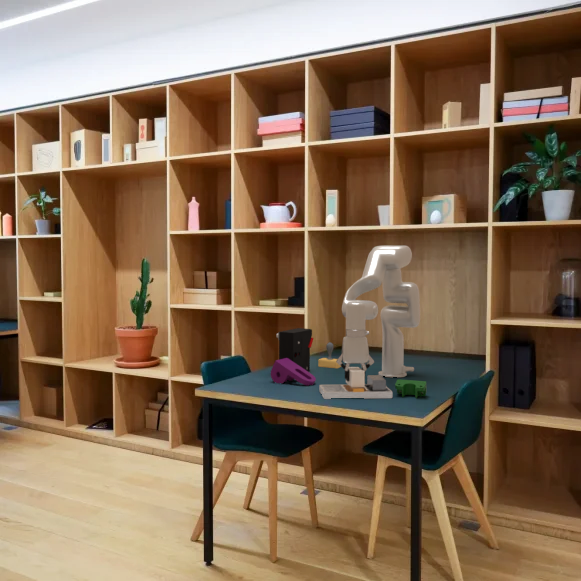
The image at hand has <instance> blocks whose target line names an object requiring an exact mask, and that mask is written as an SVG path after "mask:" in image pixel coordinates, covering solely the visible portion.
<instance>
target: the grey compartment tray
mask: <svg viewBox="0 0 581 581" xmlns="http://www.w3.org/2000/svg"><path fill="white" fill-rule="evenodd" d="M366 376H367V377H366V378H367V380H366V381H367V382H366V383H367V384H366V383H365V385H364V387H351V386H349V385H348V384H347V383H346V384H319V388H318V391H319V393H320V395H321V394H322V395H321V396H322V398H323V399H324V400H332V399H331V398H364V399H392V398H393V391H392V390H391V389H390V387H388V386H387V380H386V379H385V378H384V377H383V376H380V375H379V374H376V375H374V374H373V375H369V374H368V375H366Z"/></svg>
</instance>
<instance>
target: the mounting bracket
mask: <svg viewBox="0 0 581 581" xmlns="http://www.w3.org/2000/svg"><path fill="white" fill-rule="evenodd" d="M279 372H280V375H279ZM270 377H271V379H272V381H273V382H274V383H275V382H276V383H275V384H280V383H281V384H284V382H285V383H287V382H289V381H293V380H295V381H296V382H298V383H300V384H301V385H303V386H308V387H309V385H311V386H314V385H313V384H315V383H316V379H317V378H316V377H315V375H314V374H312V373H311V372H308V371H306V370H305V369H303V368H302V367H300V366H299V365H297V364H296V363H294V362H293V361H291V360H290V359H288V358H284V359H280V360H279V359H276V360H274V363H273V365H272V368H271V370H270ZM287 380H289V381H287Z"/></svg>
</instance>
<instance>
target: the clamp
mask: <svg viewBox="0 0 581 581" xmlns="http://www.w3.org/2000/svg"><path fill="white" fill-rule="evenodd" d="M396 379H397V378H396ZM394 388H395V389H396V394H397V395H399V394H402V395H401V397H402V398H404V397H405V396H410V395H415V396H414V397H415V399H418V397H422V396H424V397H425V396H426V395H427V392H428V391H427V388H428V387H427V381H426V380H423V381H422V380H413V379H411V380H410V379H399V378H398V379H397V380H396V382H395V384H394Z"/></svg>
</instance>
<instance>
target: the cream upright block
mask: <svg viewBox="0 0 581 581" xmlns="http://www.w3.org/2000/svg"><path fill="white" fill-rule="evenodd" d="M348 369H349V381H347V380H346V379H345V383H346V385H347V384H348V385H349V386H351V387H364V385H365V384H366V383H365V379H366V371H363V370H362V367H359V366H349V368H348Z"/></svg>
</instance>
